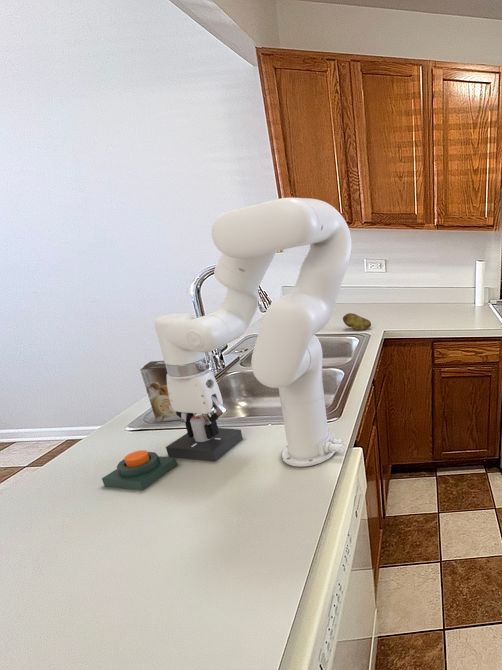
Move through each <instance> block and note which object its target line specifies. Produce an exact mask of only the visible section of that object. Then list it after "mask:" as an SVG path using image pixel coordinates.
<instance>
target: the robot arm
mask: <svg viewBox="0 0 502 670" xmlns="http://www.w3.org/2000/svg"><path fill="white" fill-rule="evenodd" d="M211 238H212V241H213V244H214V246H215V248H216V249H217V250H218V251H219V252H220V253H221V254H220V257H219V258H218V261H217V263H216V265H215V268H214V269H213V272H214V273H213V274H214V277H215V279H216V281H218V282H219V283H220V284H221V285H222V286H224V287H226V288H227V289H226V293H225V297H224V299H223V301H222V303H221V304H220V307H219V308H218V310H216V311H213V312H209V313H207V314H205V315H202V316H199V317H195V316H194V315H193V314H191V313H185V312H175V313H168V314H164V315H159V316H158V317H157V318H156V319H155V320H154V329H155V333H156V336H157V340H158V343H159V346H160V351H161V354H162V358H163V361H165V365H166V369H167V373H168V374H167V389H168V395H169V399H170V403H171V404H170V406H169V410H171V411H172V412H174V413H176V414H177V415H178V416H179V417H180V418H181V422H182V423H183V424H184V425H185V429H186V433H188V436H189V437H190V438H192V437H194V434H193V430H192V427H191V423H190V419H191V417H192V416H196V415H195V413H196V414H198V415H202V416H203V418H204V421H205V423H206V424H205V425H204V428H205V432H206V436H207V439H211V438H213V437H214V436H216V435H217V434H218V433H219V431H218V428H219V427H218V422H217V421H218V420H219V418H220V417H221V416H223V415H224V414H226V413H227V408H225V406H224V403H223V397H222V394H221V391H220V386H219V384H218V381H217V380H216V377H215V375H214V373H213V372H212V370H211V369H210V366H211V365H210V364H209V363H207V360H206V356H205V353H211V352H214V351H216V350H218V349H220V348H222V347H224V346H225V345H227V344H229V343H232V342H233V341H235V340H237V339H239V338H240V337H241V336H242V335H244V334H245V333H246V332H247V330H248V328H249V326H250V324H251V322H252V321H253V319H254V317H255V314H256V313H257V310H258V306H259V287H260V285H261V283H262V282H263V280H264V277H265V275H266V273H267V271H268V269H269V267H270V265H271V263H272V261H273V260H274V258H275V256H276V253H277V252H279V251H284V250H288V249H292V248H293V249H294V248H297V247H304V246H308V245H309V249H308V252H307V253H306V255H305V258H304V259H303V261H302V264H301V265H300V268H299V273H298V276H297V279H296V282H295V284H294V286H293V288H292V290H291V291H290V292H288V293H286V294H284V295H282V296H279V297H278V298H276V299H275V300H273V301H272V302H271V303H270V305H268V307H267V308H266V311H265V313H264V315H263V317H262V321H261V324H260V327H259V330H258V334H257V336H256V340H255V343H254V347H253V351H252V354H251V360H250V366H251V371H252V374H253V375H254V377H255V379H256V380H257V381H258V382H259V383H260V384H261V385H262V386H265V387H268V388H271V389H278V394H279V401H280V407H281V414H282V419H283V426H284V432H285V438H286V442H287V445H285V447H284V448H283V449H282V452H281V457H282V460H283V462H284V463H285V464H287V465H289V466H292V467H296V468H297V467H298V468H299V467H300V468H301V467H302V468H304V467H311V466H316V465H319V464H321V463H323V462H325V461H327V460H329V459H330V458H332V456H334V455H335V453H336V452H337V453H343V452H344V451H345V444H344V439H342V438H341V439H340V438H337V439H336V438H335V437H334V433H333V432H332V431H329V425H328V417H327V408H326V403H325V402H326V401H325V391H324V383H323V381H324V380H323V347H322V344H321V341H320V340H319V338H318V337H317V336H316V334H317V333H319V332H320V331H321V330H322V329H324V328H325V327H326V326H327V325H328V323H329V322H330V320H331V316H332V314H333V311H334V307H335V305H336V302H337V299H338V297H339V294H340V292H341V288H342V284H343V281H344V278H345V275H346V274H347V270H348V266H349V264H350V260H351V256H352V250H353V239H352V235H351V231H350V228H349V226H348V224H347V221H346V220H345V218H344V216H343V215H342V214H341V213H340V212H339V211H338V210H337V209H336V207H334V206H333V205H331V204H330V203H328V202H327V201H324V200H322V199H321V200H320V199H317V198H311V197H310V198H309V197H308V198H307V197H281V198H277V199H273V200H272V199H271V200H269V201H264V202H261V203H257V204H252V205H248V206H244V207H240V208H236V209H231V210H228V211H224V212H223V213H221V214H220V215H218V216H217V217H216V219H215V220H214V222H213V224H212V226H211ZM209 414H210V415H209ZM209 416H210V417H209Z"/></svg>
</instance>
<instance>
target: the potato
mask: <svg viewBox="0 0 502 670" xmlns="http://www.w3.org/2000/svg"><path fill="white" fill-rule="evenodd" d="M342 321H343V323H344V324H345V326H347V327H348V328H351V329H353V330H357V331H362V330H368V329H369V328H371V326H372V321H370V320H369V319H368V318H365V317H363V316H360V315H358V314H356V313H352V312H351V313H350V312H349V313H346V314H345V315H343V317H342Z"/></svg>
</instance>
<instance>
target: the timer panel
mask: <svg viewBox="0 0 502 670" xmlns="http://www.w3.org/2000/svg"><path fill="white" fill-rule="evenodd" d="M218 431H219V433H218V434H217V435H216V436H214V437H213V438H212V439H210V440H208V441H204V442H197V441H195V438H194V437H192V438H190V437H189V436H188V432H186V433H185V434H184V435H181V436H180V437H179V438H177V439H176V440H174V441H173V442H171V443H170V444H168V445H167V446H165V449H166V453H167V457H173V458H175V459H180V460H181V459H182V460H192V461H194V460H195V461H202V462H203V461H204V462H213V463H214V462H217V461H218V460H219V459H221V458H222V457H223V456H225V455H226V454H227V453H228V452H229V451H230V450H232V449H233V448H235V446H237V445H238V444H239V443H240V442H242V441H243V433H242V429H238V428H237V429H236V428H227V427H218Z"/></svg>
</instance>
